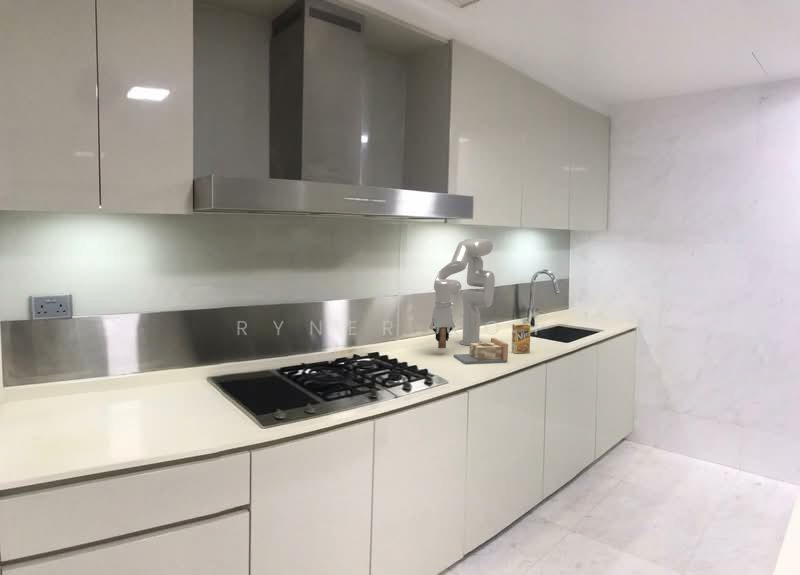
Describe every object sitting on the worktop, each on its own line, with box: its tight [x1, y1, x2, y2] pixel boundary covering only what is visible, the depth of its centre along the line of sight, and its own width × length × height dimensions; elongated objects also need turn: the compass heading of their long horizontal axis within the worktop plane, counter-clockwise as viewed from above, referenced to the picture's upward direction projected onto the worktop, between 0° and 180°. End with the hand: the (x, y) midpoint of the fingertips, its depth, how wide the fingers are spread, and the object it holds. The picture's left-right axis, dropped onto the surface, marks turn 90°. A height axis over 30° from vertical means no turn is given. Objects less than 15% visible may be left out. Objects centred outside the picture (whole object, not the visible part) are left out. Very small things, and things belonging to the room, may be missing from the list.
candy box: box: [511, 323, 531, 354], centre depth 268 cm, size 9×4×15 cm, turn 107°
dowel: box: [437, 327, 447, 349], centre depth 259 cm, size 4×4×12 cm
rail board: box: [453, 337, 509, 365], centre depth 250 cm, size 16×22×9 cm
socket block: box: [468, 341, 502, 360], centre depth 250 cm, size 12×12×6 cm
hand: (442, 340), depth 259 cm, fingers closed on dowel, 4 cm apart
